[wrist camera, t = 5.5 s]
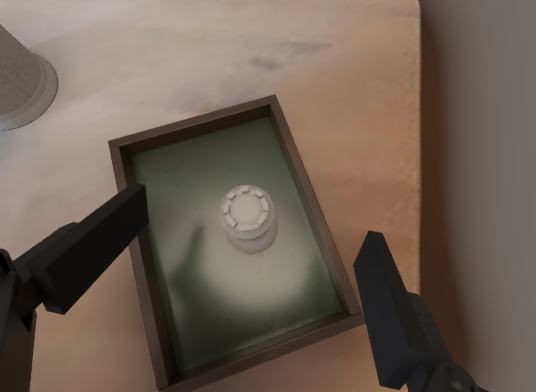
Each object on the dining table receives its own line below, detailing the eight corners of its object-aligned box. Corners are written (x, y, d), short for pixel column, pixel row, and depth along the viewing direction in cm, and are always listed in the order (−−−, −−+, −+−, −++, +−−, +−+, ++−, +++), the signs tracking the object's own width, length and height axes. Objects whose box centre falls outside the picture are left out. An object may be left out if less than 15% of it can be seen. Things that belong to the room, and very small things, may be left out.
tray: (121, 151, 24) (107, 140, 22) (274, 107, 25) (275, 93, 23) (170, 388, 19) (159, 404, 17) (355, 317, 20) (366, 323, 18)
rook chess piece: (246, 265, 21) (236, 266, 13) (215, 222, 22) (189, 200, 14) (288, 232, 22) (302, 215, 14) (256, 192, 23) (254, 155, 15)
